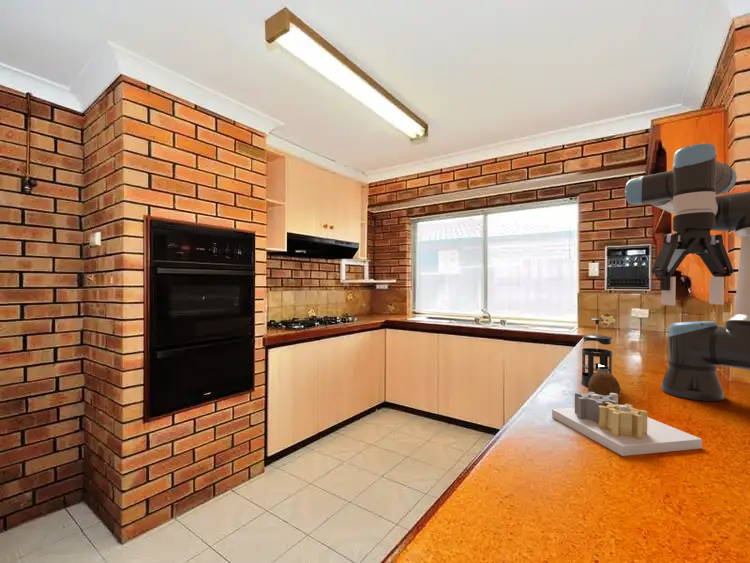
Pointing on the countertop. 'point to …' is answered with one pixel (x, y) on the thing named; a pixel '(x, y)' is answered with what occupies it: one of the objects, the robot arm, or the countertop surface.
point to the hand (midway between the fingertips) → (692, 304)
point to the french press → (591, 353)
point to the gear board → (654, 442)
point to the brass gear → (622, 420)
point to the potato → (603, 384)
